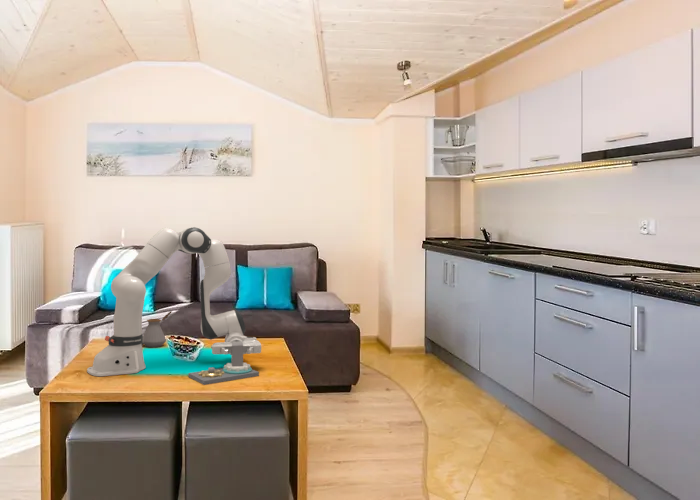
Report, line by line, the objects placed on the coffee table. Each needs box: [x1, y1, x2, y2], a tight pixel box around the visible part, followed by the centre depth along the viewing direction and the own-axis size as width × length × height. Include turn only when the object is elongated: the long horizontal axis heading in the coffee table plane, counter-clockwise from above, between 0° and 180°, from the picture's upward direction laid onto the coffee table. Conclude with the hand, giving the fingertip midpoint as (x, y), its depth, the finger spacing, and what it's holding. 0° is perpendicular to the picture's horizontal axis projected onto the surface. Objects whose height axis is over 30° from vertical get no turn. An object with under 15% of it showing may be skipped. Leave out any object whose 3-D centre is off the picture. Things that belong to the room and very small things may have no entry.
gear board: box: [187, 366, 260, 386], centre depth 245 cm, size 24×14×4 cm, turn 129°
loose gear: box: [223, 343, 251, 372], centre depth 248 cm, size 10×10×10 cm
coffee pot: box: [143, 311, 174, 348], centre depth 303 cm, size 21×12×15 cm, turn 164°
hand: (237, 352), depth 247 cm, fingers open, 8 cm apart
